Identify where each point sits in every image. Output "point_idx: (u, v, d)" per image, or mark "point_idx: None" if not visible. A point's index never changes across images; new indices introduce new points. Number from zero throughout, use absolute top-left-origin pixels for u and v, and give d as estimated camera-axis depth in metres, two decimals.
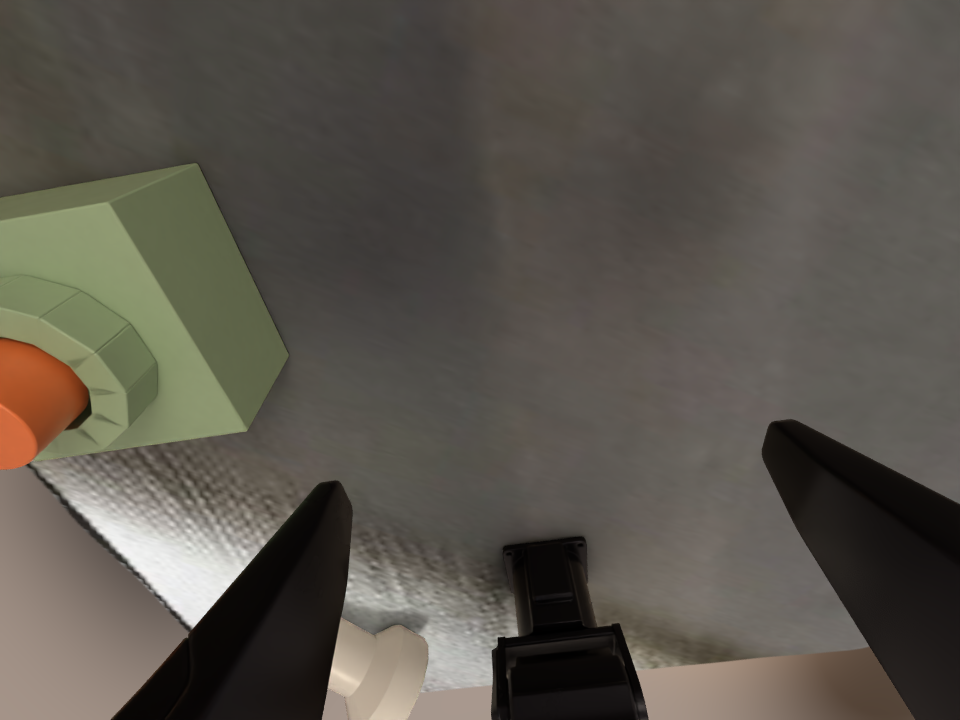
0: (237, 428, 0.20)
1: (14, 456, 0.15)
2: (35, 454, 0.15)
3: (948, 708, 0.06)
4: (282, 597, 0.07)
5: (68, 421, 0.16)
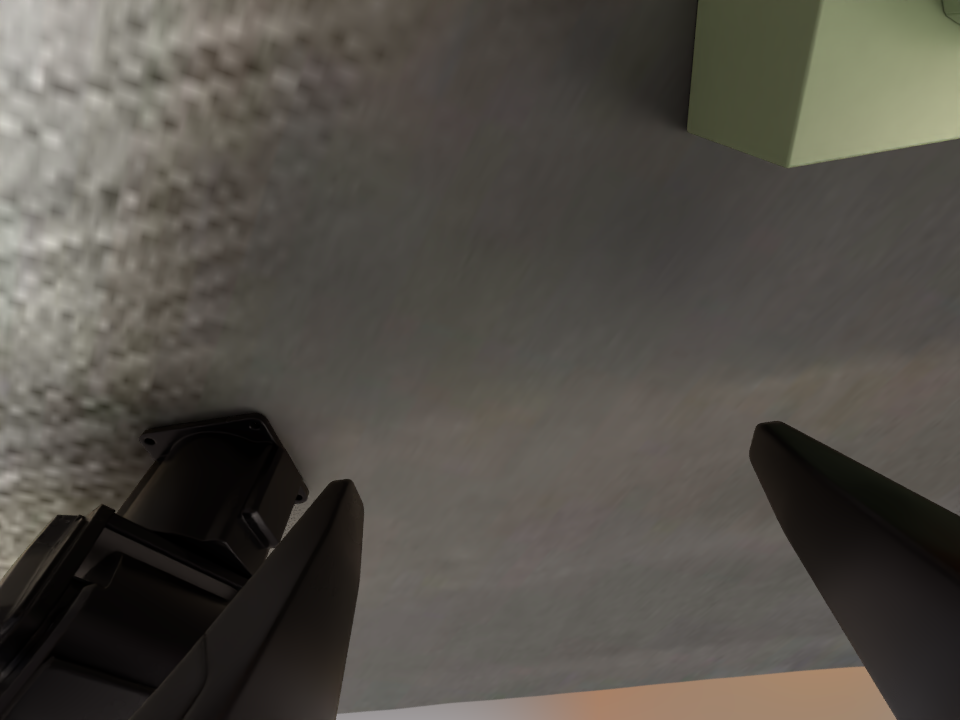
0: (801, 152, 0.11)
1: None
2: None
3: (929, 710, 0.06)
4: (298, 595, 0.07)
5: None
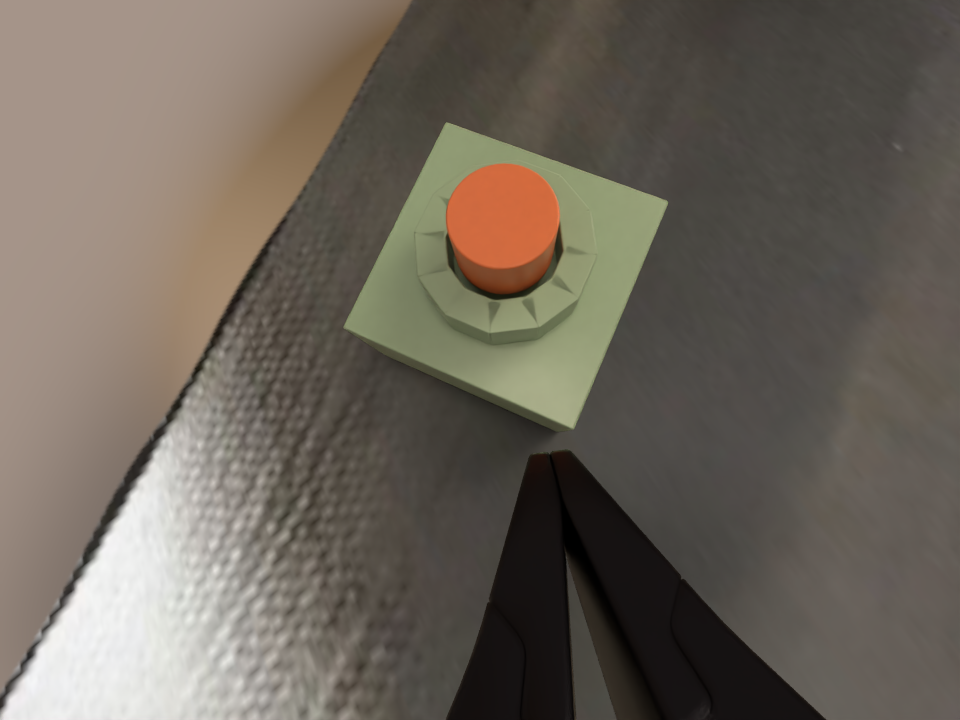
0: (568, 419, 0.17)
1: (502, 255, 0.14)
2: (520, 266, 0.14)
3: None
4: (564, 563, 0.07)
5: (524, 280, 0.15)
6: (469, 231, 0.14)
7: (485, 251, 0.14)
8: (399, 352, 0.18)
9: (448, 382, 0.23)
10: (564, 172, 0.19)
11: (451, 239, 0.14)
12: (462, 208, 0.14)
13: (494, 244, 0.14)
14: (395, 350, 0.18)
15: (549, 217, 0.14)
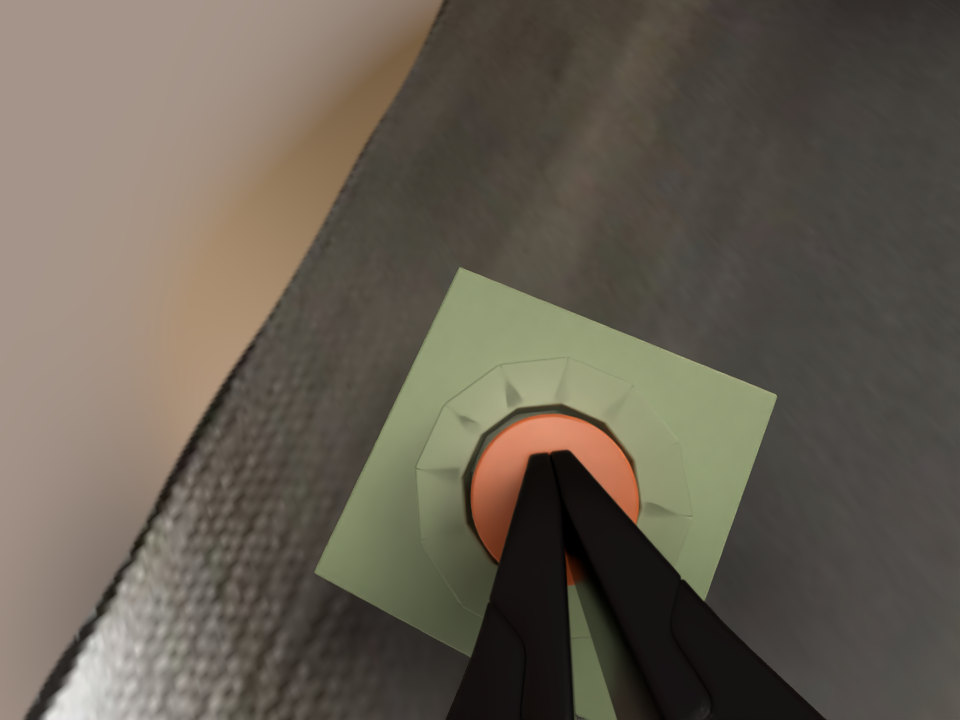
0: None
1: None
2: None
3: None
4: (564, 563, 0.07)
5: None
6: (506, 522, 0.10)
7: None
8: (393, 615, 0.13)
9: None
10: (626, 347, 0.13)
11: (479, 532, 0.10)
12: (495, 485, 0.10)
13: None
14: (388, 611, 0.13)
15: (623, 506, 0.10)
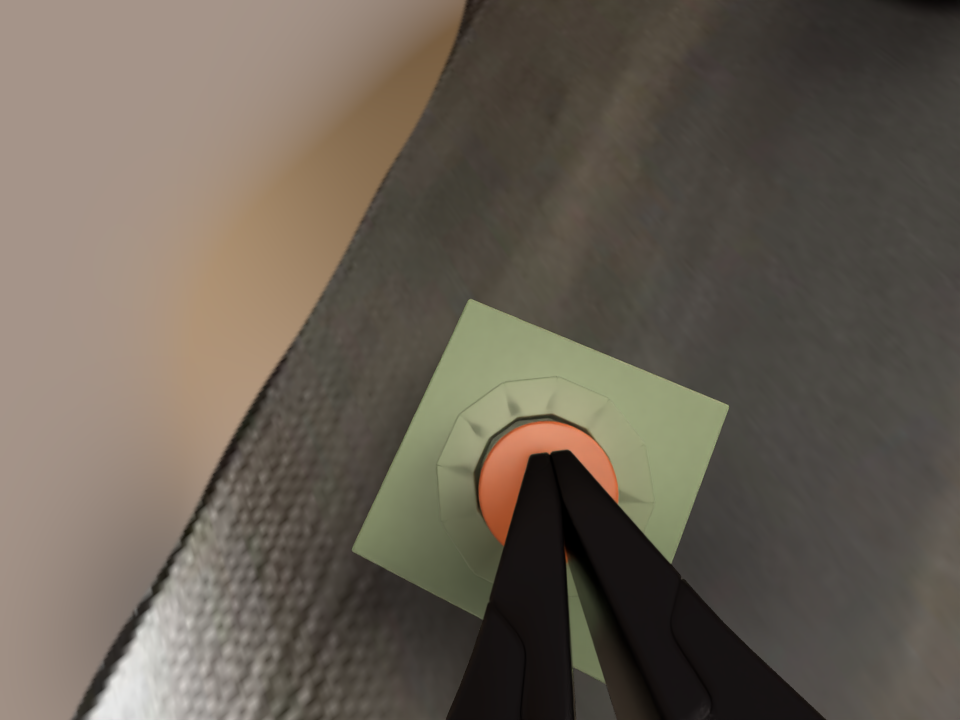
0: None
1: None
2: None
3: None
4: (564, 563, 0.07)
5: None
6: (508, 511, 0.12)
7: None
8: (417, 584, 0.15)
9: None
10: (607, 365, 0.16)
11: (486, 520, 0.12)
12: (499, 480, 0.12)
13: None
14: (412, 581, 0.15)
15: None
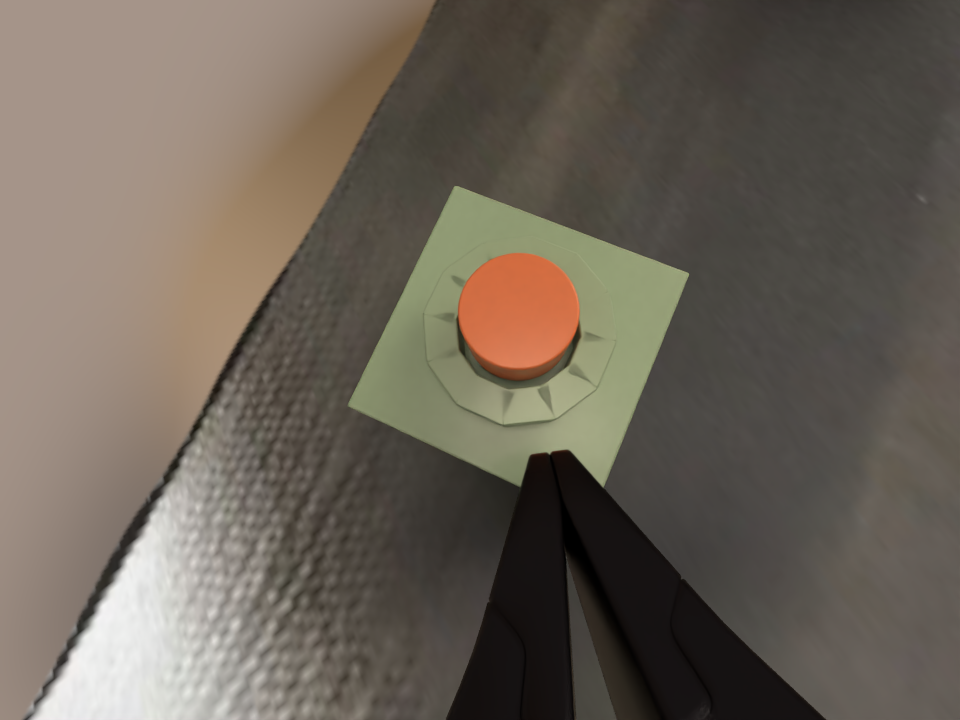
0: None
1: (518, 354, 0.13)
2: (537, 366, 0.13)
3: None
4: (564, 563, 0.07)
5: (540, 372, 0.14)
6: (483, 327, 0.13)
7: (500, 350, 0.13)
8: (406, 433, 0.17)
9: None
10: (579, 241, 0.18)
11: (464, 335, 0.13)
12: (475, 302, 0.13)
13: (509, 342, 0.13)
14: (402, 430, 0.17)
15: (568, 313, 0.13)
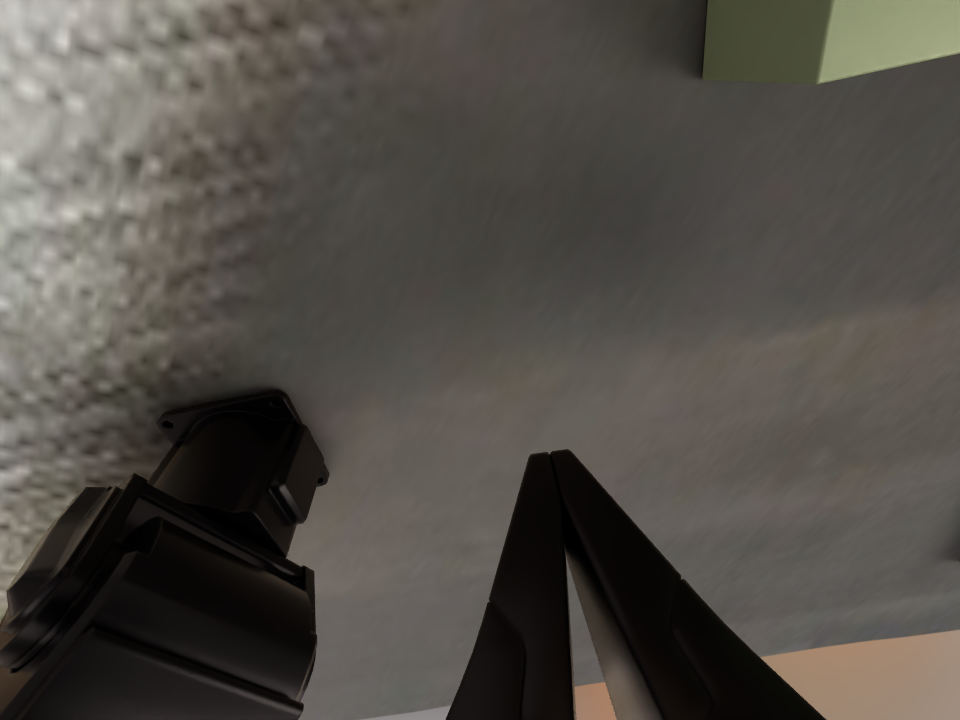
0: (830, 66, 0.11)
1: None
2: None
3: None
4: (564, 563, 0.07)
5: None
6: None
7: None
8: None
9: None
10: None
11: None
12: None
13: None
14: None
15: None
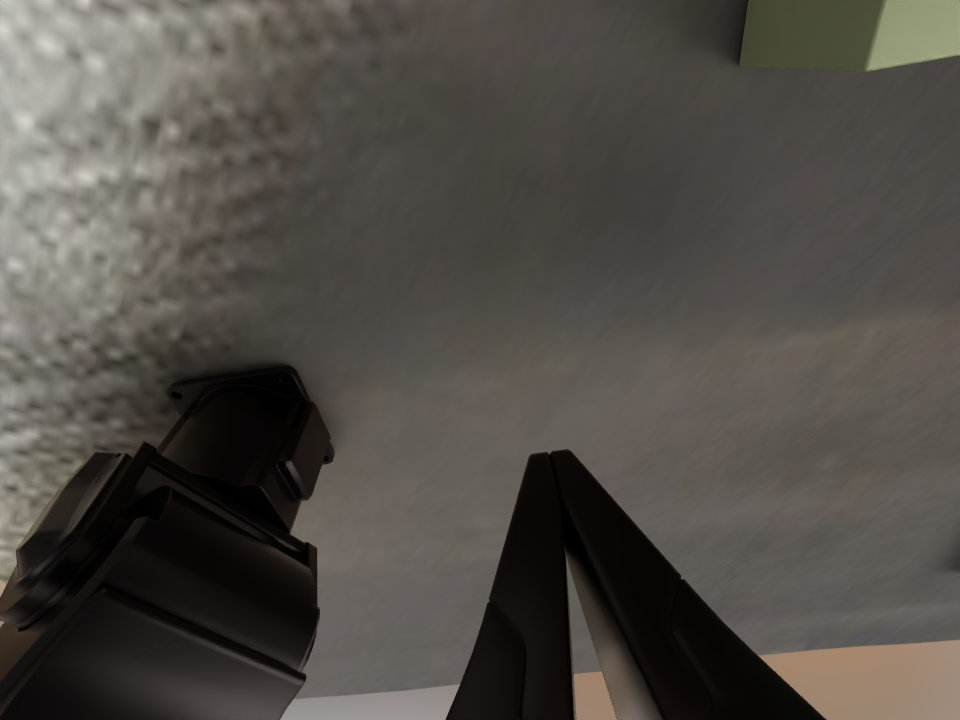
0: (881, 53, 0.11)
1: None
2: None
3: None
4: (564, 563, 0.07)
5: None
6: None
7: None
8: None
9: None
10: None
11: None
12: None
13: None
14: None
15: None
